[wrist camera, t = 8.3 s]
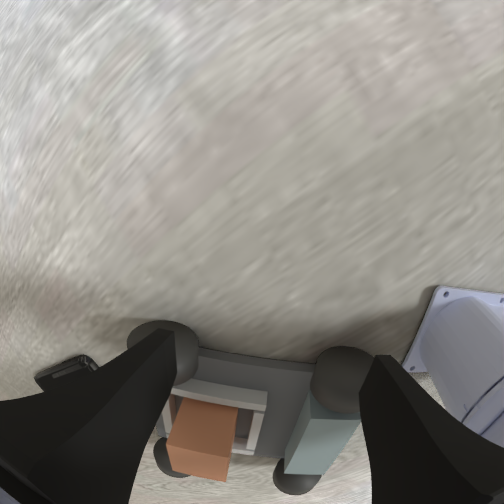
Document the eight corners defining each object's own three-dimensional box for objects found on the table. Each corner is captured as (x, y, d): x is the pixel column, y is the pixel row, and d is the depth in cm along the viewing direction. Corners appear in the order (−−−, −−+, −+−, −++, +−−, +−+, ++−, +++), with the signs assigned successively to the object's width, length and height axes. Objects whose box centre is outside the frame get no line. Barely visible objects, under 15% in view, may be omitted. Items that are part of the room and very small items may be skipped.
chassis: (375, 348, 20) (392, 394, 15) (316, 460, 26) (317, 495, 21) (144, 315, 21) (114, 354, 16) (163, 437, 27) (150, 470, 22)
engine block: (239, 399, 22) (228, 457, 16) (235, 430, 23) (225, 481, 18) (186, 389, 22) (165, 444, 16) (189, 421, 24) (172, 470, 18)
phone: (132, 410, 25) (69, 418, 28) (136, 403, 26) (73, 413, 30) (82, 355, 23) (31, 377, 27) (87, 349, 24) (35, 372, 28)
